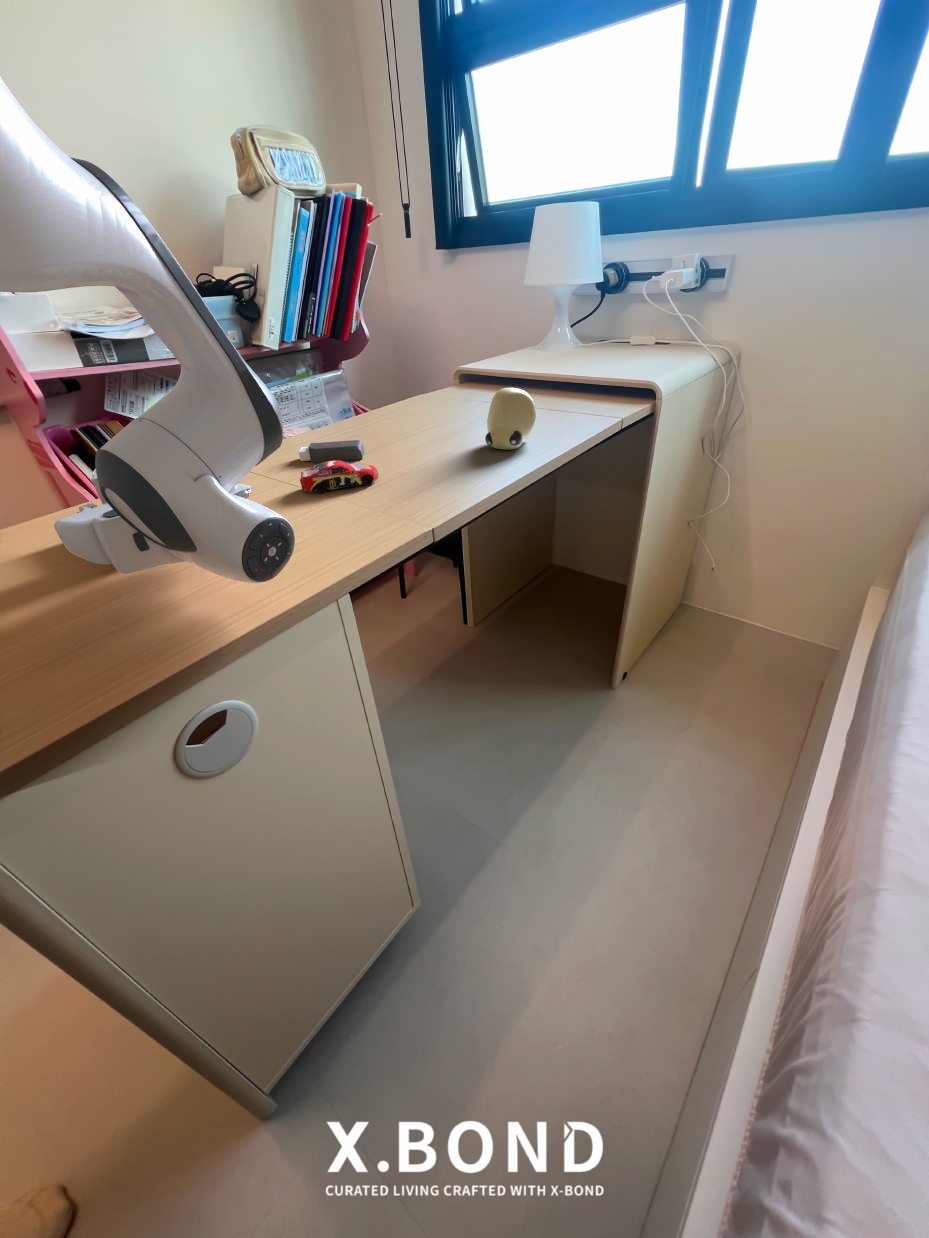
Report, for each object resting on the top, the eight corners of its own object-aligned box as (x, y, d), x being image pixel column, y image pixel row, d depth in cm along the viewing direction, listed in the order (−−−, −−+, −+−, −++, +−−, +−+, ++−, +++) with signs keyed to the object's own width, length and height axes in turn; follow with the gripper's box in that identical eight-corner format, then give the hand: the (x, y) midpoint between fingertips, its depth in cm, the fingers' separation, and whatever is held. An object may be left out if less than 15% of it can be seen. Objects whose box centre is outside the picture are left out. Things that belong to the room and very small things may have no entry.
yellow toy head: (488, 459, 106) (470, 435, 96) (500, 406, 107) (484, 376, 97) (532, 462, 102) (519, 437, 92) (545, 406, 103) (533, 376, 93)
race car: (376, 474, 91) (373, 452, 89) (382, 484, 87) (379, 461, 84) (301, 486, 88) (296, 463, 85) (303, 496, 83) (298, 473, 81)
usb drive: (362, 459, 98) (360, 445, 97) (300, 464, 98) (296, 449, 96) (364, 451, 102) (362, 437, 101) (304, 455, 102) (301, 441, 100)
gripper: (252, 466, 64) (190, 451, 70) (80, 527, 50) (23, 501, 57) (265, 513, 67) (205, 494, 74) (108, 581, 54) (52, 551, 61)
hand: (125, 498), depth 65 cm, fingers open, 8 cm apart
